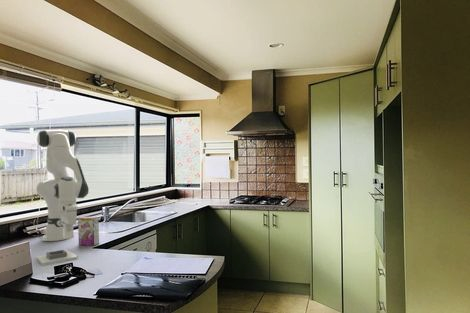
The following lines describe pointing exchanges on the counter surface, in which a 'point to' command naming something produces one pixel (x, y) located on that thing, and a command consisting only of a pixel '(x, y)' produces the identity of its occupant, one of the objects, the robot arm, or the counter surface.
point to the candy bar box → (88, 230)
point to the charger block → (65, 232)
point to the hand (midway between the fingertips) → (68, 230)
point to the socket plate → (56, 257)
